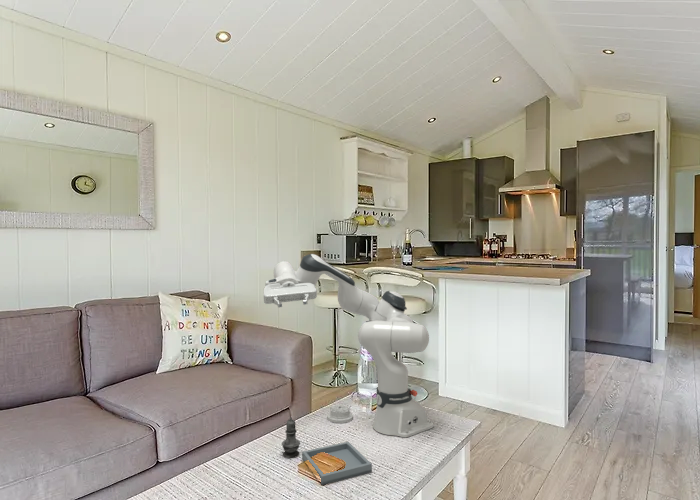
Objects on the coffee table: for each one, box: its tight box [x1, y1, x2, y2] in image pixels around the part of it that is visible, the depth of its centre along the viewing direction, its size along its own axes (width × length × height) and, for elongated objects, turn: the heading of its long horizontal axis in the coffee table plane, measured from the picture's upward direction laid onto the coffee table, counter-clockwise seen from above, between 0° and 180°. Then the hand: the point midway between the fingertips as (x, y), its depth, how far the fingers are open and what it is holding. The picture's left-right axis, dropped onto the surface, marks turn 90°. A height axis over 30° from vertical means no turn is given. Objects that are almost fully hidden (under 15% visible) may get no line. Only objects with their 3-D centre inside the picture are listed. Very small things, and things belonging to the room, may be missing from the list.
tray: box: [301, 441, 373, 486], centre depth 135 cm, size 16×16×2 cm
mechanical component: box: [326, 403, 354, 424], centre depth 171 cm, size 10×4×10 cm
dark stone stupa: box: [281, 416, 301, 459], centre depth 142 cm, size 6×6×12 cm
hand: (292, 304), depth 163 cm, fingers open, 8 cm apart
